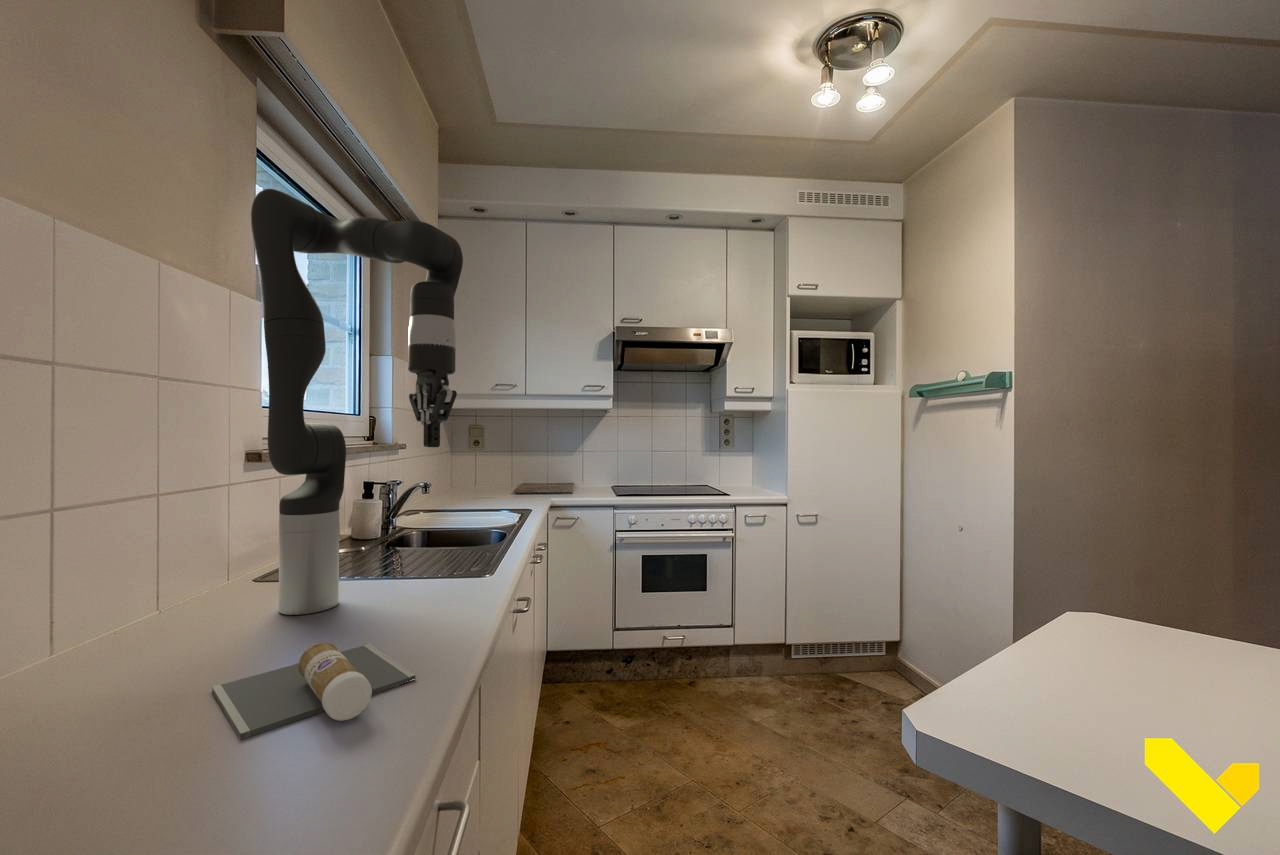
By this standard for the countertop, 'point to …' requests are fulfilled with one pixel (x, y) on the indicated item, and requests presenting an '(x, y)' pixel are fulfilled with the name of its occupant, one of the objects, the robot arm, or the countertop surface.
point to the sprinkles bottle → (335, 681)
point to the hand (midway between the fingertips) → (431, 447)
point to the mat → (296, 692)
